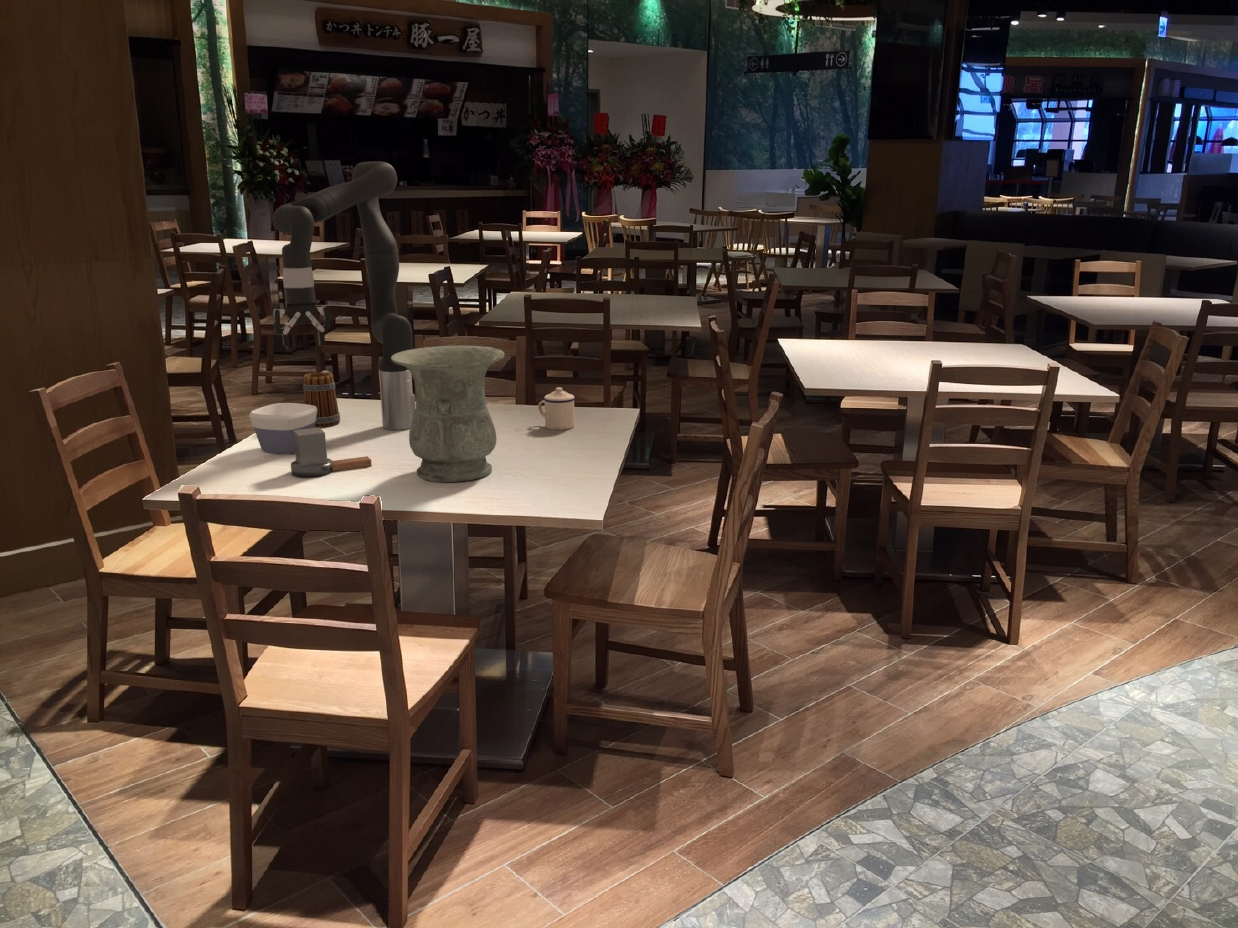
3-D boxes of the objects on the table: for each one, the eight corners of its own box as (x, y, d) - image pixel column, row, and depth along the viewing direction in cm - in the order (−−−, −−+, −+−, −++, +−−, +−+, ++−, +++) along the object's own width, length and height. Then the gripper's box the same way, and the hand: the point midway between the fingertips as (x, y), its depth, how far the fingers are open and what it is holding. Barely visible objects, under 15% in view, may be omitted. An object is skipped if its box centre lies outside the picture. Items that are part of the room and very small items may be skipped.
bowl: (245, 453, 275) (240, 413, 272) (281, 440, 289) (278, 401, 286) (292, 458, 270) (289, 417, 267) (327, 444, 284) (324, 405, 281)
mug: (335, 428, 302) (330, 378, 298) (299, 428, 303) (294, 378, 298) (349, 416, 317) (345, 368, 313) (315, 416, 318) (311, 368, 314)
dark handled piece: (364, 460, 268) (362, 432, 266) (374, 469, 259) (372, 440, 257) (287, 470, 259) (285, 441, 257) (296, 480, 251) (293, 450, 249)
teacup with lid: (581, 425, 304) (580, 386, 301) (564, 431, 297) (563, 392, 293) (547, 420, 310) (547, 382, 307) (530, 426, 302) (529, 388, 299)
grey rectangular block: (322, 458, 261) (319, 427, 258) (327, 463, 255) (325, 432, 253) (296, 461, 258) (293, 430, 256) (301, 467, 252) (298, 435, 250)
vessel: (383, 486, 245) (374, 362, 237) (419, 457, 270) (412, 344, 262) (493, 490, 241) (488, 364, 233) (519, 460, 267) (515, 346, 259)
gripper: (323, 282, 272) (328, 343, 277) (267, 285, 266) (273, 347, 270) (329, 285, 266) (334, 347, 270) (273, 287, 260) (279, 351, 264)
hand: (304, 347), depth 270 cm, fingers open, 8 cm apart
